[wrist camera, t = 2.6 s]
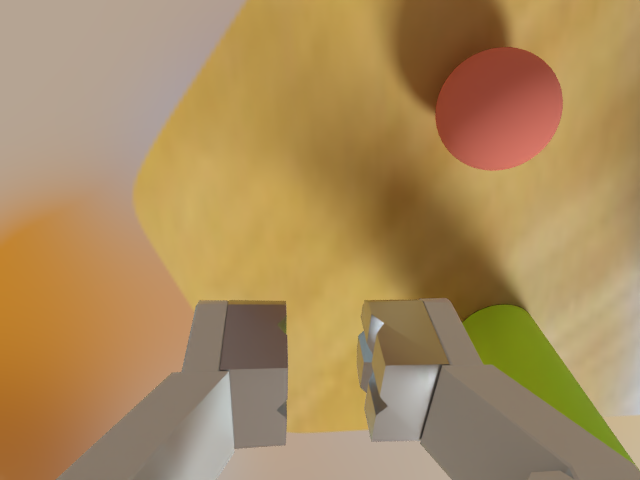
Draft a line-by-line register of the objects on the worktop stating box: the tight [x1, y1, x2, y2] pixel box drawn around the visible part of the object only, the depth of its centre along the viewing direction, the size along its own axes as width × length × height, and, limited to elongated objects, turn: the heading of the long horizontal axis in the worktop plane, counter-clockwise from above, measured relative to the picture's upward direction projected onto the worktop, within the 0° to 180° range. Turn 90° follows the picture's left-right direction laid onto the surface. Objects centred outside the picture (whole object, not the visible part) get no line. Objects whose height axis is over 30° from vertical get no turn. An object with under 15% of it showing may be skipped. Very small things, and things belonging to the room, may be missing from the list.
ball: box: [436, 47, 563, 170], centre depth 21 cm, size 6×6×6 cm
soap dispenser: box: [462, 305, 639, 470], centre depth 25 cm, size 6×7×20 cm
